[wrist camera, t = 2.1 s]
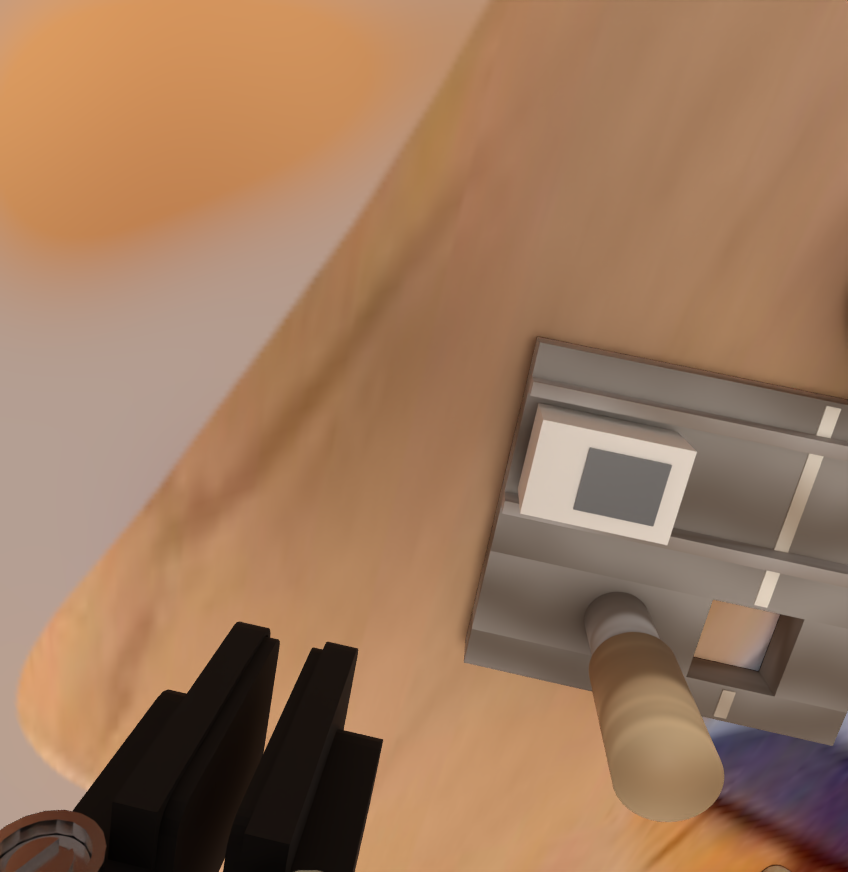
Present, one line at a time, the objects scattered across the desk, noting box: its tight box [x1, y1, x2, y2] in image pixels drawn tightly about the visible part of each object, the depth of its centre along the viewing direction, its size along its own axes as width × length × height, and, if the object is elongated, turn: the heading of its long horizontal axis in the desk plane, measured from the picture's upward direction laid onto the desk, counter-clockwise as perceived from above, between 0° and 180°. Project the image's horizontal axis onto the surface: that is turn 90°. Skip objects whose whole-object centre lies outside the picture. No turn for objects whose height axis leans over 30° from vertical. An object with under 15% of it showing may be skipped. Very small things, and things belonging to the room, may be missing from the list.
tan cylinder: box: [584, 592, 724, 822], centre depth 28 cm, size 4×4×10 cm
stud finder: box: [518, 403, 697, 545], centre depth 29 cm, size 4×6×3 cm, turn 79°
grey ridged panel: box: [464, 337, 848, 746], centre depth 32 cm, size 16×18×3 cm
